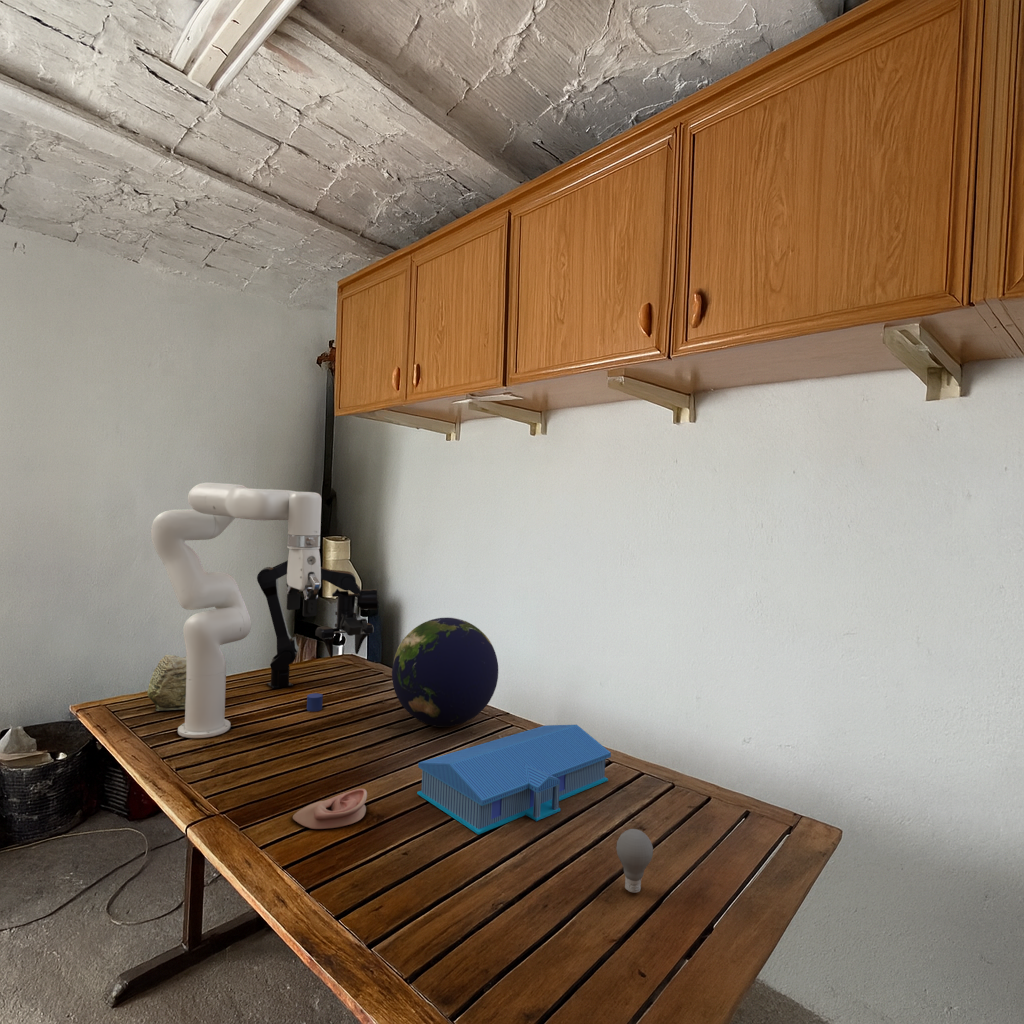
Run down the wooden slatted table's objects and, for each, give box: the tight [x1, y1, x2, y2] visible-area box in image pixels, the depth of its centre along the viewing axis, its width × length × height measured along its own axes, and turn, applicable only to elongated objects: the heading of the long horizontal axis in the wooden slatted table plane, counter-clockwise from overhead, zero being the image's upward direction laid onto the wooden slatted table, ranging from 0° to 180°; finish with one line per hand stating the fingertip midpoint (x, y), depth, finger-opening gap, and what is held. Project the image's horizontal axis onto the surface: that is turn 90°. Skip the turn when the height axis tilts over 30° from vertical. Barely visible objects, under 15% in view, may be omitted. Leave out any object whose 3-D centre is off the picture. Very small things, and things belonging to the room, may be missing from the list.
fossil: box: [147, 654, 187, 712], centre depth 185 cm, size 9×18×15 cm, turn 132°
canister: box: [306, 692, 324, 713], centre depth 187 cm, size 4×4×4 cm
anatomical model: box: [292, 788, 368, 830], centre depth 126 cm, size 13×4×12 cm
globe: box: [391, 616, 499, 728], centre depth 179 cm, size 30×30×30 cm
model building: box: [416, 724, 612, 835], centre depth 141 cm, size 39×24×10 cm, turn 132°
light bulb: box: [615, 828, 654, 894], centre depth 106 cm, size 6×6×10 cm
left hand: (301, 612), depth 154 cm, fingers open, 9 cm apart
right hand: (344, 655), depth 214 cm, fingers open, 9 cm apart
